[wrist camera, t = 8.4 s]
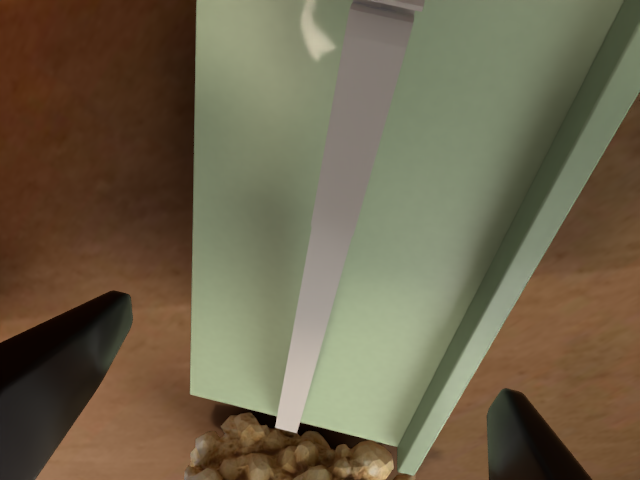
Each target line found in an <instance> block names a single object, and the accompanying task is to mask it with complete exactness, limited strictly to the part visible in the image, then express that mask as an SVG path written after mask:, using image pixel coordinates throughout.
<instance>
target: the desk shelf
mask: <svg viewBox="0 0 640 480" xmlns="http://www.w3.org/2000/svg"><path fill="white" fill-rule="evenodd" d="M352 2H353V0H196V57H195V118H194V178H193V239H192V300H191V360H190V394H191V395H195V396H198V397H202V398H206V399H210V400H214V401H218V402H222V403H226V404H230V405H234V406H238V407H242V408H246V409H250V410H254V411H258V412H262V413H266V414H270V415H273V416H277V415H278V409H279V404H280V398H281V393H282V387H283V382H284V376H285V371H286V365H287V360H288V354H289V349H290V343H291V338H292V333H293V327H294V322H295V316H296V311H297V305H298V300H299V294H300V289H301V284H302V278H303V273H304V267H305V262H306V256H307V251H308V245H309V240H310V234H311V229H312V227H311V221H312V215H313V210H314V204H315V199H316V193H317V187H318V182H319V176H320V171H321V165H322V159H323V154H324V148H325V143H326V137H327V131H328V126H329V120H330V115H331V109H332V103H333V98H334V92H335V87H336V81H337V75H338V70H339V64H340V59H341V53H342V47H343V42H344V36H345V31H346V25H347V20H348V15H349V10H350V7H351V4H352ZM639 92H640V0H425V3H424V7H423V10H422V12H420V11H415V13H414V21H413V26H412V30H411V33H410V37H409V41H408V44H407V48H406V51H405V55H404V58H403V62H402V66H401V69H400V73H399V76H398V80H397V83H396V87H395V90H394V94H393V97H392V101H391V104H390V108H389V111H388V115H387V118H386V122H385V126H384V129H383V133H382V136H381V140H380V143H379V147H378V150H377V154H376V157H375V161H374V164H373V168H372V171H371V175H370V179H369V182H368V186H367V189H366V193H365V196H364V200H363V203H362V207H361V210H360V214H359V217H358V221H357V224H356V228H355V231H354V235H353V236H352V238H351V242H350V245H349V249H348V252H347V256H346V260H345V263H344V267H343V270H342V274H341V278H340V281H339V285H338V288H337V292H336V295H335V299H334V303H333V306H332V310H331V313H330V317H329V321H328V324H327V328H326V331H325V335H324V338H323V342H322V346H321V349H320V353H319V356H318V360H317V363H316V367H315V371H314V374H313V378H312V381H311V385H310V389H309V392H308V396H307V399H306V403H305V406H304V410H303V414H302V417H301V421H300V422H301V423H305V424H309V425H313V426H317V427H321V428H325V429H329V430H333V431H337V432H341V433H345V434H349V435H352V436H356V437H360V438H364V439H368V440H372V441H376V442H380V443H384V444H388V445H392V446H396V447H398V448H397V470H398V472H400V473H404V474H408V475H412V476H414V475H415V473H416V472H417V470H418V468H419V467H420V465H421V463H422V462H423V460H424V458H425V456H426V455H427V453H428V451H429V450H430V448H431V446H432V444H433V443H434V441H435V439H436V438H437V436H438V434H439V433H440V431H441V429H442V427H443V426H444V424H445V422H446V421H447V419H448V417H449V416H450V414H451V412H452V410H453V409H454V407H455V405H456V404H457V402H458V400H459V398H460V397H461V395H462V393H463V392H464V390H465V388H466V387H467V385H468V383H469V381H470V380H471V378H472V376H473V375H474V373H475V371H476V370H477V368H478V366H479V364H480V363H481V361H482V359H483V358H484V356H485V354H486V353H487V351H488V349H489V347H490V346H491V344H492V342H493V341H494V339H495V337H496V335H497V334H498V332H499V330H500V329H501V327H502V325H503V324H504V322H505V320H506V318H507V317H508V315H509V313H510V312H511V310H512V308H513V307H514V305H515V303H516V301H517V300H518V298H519V296H520V295H521V293H522V291H523V289H524V288H525V286H526V284H527V283H528V281H529V279H530V278H531V276H532V274H533V272H534V271H535V269H536V267H537V266H538V264H539V262H540V261H541V259H542V257H543V255H544V254H545V252H546V250H547V249H548V247H549V245H550V243H551V242H552V240H553V238H554V237H555V235H556V233H557V232H558V230H559V228H560V226H561V225H562V223H563V221H564V220H565V218H566V216H567V215H568V213H569V211H570V209H571V208H572V206H573V204H574V203H575V201H576V199H577V197H578V196H579V194H580V192H581V191H582V189H583V187H584V186H585V184H586V182H587V180H588V179H589V177H590V175H591V174H592V172H593V170H594V169H595V167H596V165H597V163H598V162H599V160H600V158H601V157H602V155H603V153H604V151H605V150H606V148H607V146H608V145H609V143H610V141H611V140H612V138H613V136H614V134H615V133H616V131H617V129H618V128H619V126H620V124H621V123H622V121H623V119H624V117H625V116H626V114H627V112H628V111H629V109H630V107H631V105H632V104H633V102H634V100H635V99H636V97H637V95H638V94H639Z"/></svg>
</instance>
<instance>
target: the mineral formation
mask: <svg viewBox="0 0 640 480" xmlns="http://www.w3.org/2000/svg"><path fill="white" fill-rule="evenodd" d="M221 428H222V430H223V432H224V434H225V435H224V436H223V437H222V438H220V437H219V436H218V434H217V432H216V431H209V432H207V433H205V434H203V435H202V436H200V437H198V438H196V448H195V449H194V450H193V451H191V452H190V454H191V464H190V466H189V465H188V467H187V469H186V470H185V476H184V480H385V479H386V478H387V477H388V476H389V474H390V473H391V471H392V470H393V469H394V462H393V459H392V455H391V453H390V452H389V451H388V450H387V449H386V448H385V447H383V446H381V445H380V444H378V443H376V442H374V441H372V440H369V441H362V442H360V443H358V444H357V445H356V446H354V447H353V448H352V449H350V448H348V447H347V445H346V444H342V445H339V446H337V448H336V451H335V450H333V449H331V448H330V447H329V445H328V443H327V442H326V440H325V439H324V438H323V437H322V436H321V435H320V434H319V433H318V432H316V431H306V432H305V433H304V434H303V435H302V436H301V437H300V436H299V435H298V434H296V433H294V432H290V431H286V430H282V429H278V428H275V427H274V428H273V429H271V428H268V426H267V425H262V426H260V424H259V422H258V421H257V419H256V418H255V416H254V415H253V414H252V413H251V412H248V413H242V414H240V415H230V417H229V418H228V419H227V420H226V421H225V422H224V423H223V424H222V425H221ZM393 480H416V477H415V475H414V476H412V475H408V474H403V475H397V476H396V477H395V478H394V479H393Z"/></svg>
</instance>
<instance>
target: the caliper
mask: <svg viewBox="0 0 640 480" xmlns="http://www.w3.org/2000/svg"><path fill="white" fill-rule="evenodd" d="M424 3H425V0H353V2H352V4H351V7H350V10H349V15H348V20H347V25H346V31H345V36H344V42H343V47H342V53H341V59H340V64H339V70H338V75H337V81H336V87H335V92H334V98H333V103H332V109H331V115H330V120H329V126H328V131H327V137H326V143H325V148H324V154H323V159H322V165H321V171H320V176H319V182H318V187H317V193H316V199H315V204H314V210H313V215H312V221H311V227H312V229H311V234H310V240H309V245H308V251H307V256H306V262H305V267H304V273H303V278H302V284H301V289H300V294H299V300H298V305H297V311H296V316H295V322H294V327H293V333H292V338H291V343H290V349H289V354H288V360H287V365H286V371H285V376H284V382H283V387H282V393H281V398H280V404H279V409H278V415H277V420H276V425H275V428H278V429H282V430H286V431H290V432H294V433H297V431H298V428H299V424H300V421H301V417H302V414H303V410H304V406H305V403H306V399H307V396H308V392H309V389H310V385H311V381H312V378H313V374H314V371H315V367H316V363H317V360H318V356H319V353H320V349H321V346H322V342H323V338H324V335H325V331H326V328H327V324H328V321H329V317H330V313H331V310H332V306H333V303H334V299H335V295H336V292H337V288H338V285H339V281H340V278H341V274H342V270H343V267H344V263H345V260H346V256H347V252H348V249H349V245H350V242H351V238H352V236H353V235H354V231H355V228H356V224H357V221H358V217H359V214H360V210H361V207H362V203H363V200H364V196H365V193H366V189H367V186H368V182H369V179H370V175H371V171H372V168H373V164H374V161H375V157H376V154H377V150H378V147H379V143H380V140H381V136H382V133H383V129H384V126H385V122H386V118H387V115H388V111H389V108H390V104H391V101H392V97H393V94H394V90H395V87H396V83H397V80H398V76H399V73H400V69H401V66H402V62H403V58H404V55H405V51H406V48H407V44H408V41H409V37H410V33H411V30H412V26H413V21H414V13H415V11H420V12H422V10H423V7H424Z"/></svg>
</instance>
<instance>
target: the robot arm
mask: <svg viewBox="0 0 640 480" xmlns="http://www.w3.org/2000/svg"><path fill="white" fill-rule="evenodd" d="M132 321H133V315H132V304H131V297H130V295H129V294H126V293H122V292H118V291H110V292H107V293H105V294H103V295H101V296H99V297H97V298H95V299H93V300H90V301H88V302H86V303H84V304H82V305H80V306H78V307H76V308H73V309H71V310H69V311H67V312H65V313H63V314H61V315H59V316H56V317H54V318H52V319H50V320H48V321H46V322H44V323H42V324H39V325H37V326H35V327H33V328H31V329H29V330H27V331H25V332H22V333H20V334H18V335H16V336H14V337H12V338H10V339H8V340H6V341H3V342H1V343H0V480H35V479H36V478H37V476H38V475H39V473H40V472H41V470H42V469H43V467H44V466H45V464H46V463H47V462H48V460H49V459H50V457H51V456H52V454H53V453H54V451H55V450H56V448H57V447H58V445H59V444H60V443H61V441H62V440H63V438H64V437H65V435H66V434H67V432H68V431H69V429H70V428H71V426H72V425H73V424H74V422H75V421H76V419H77V418H78V416H79V415H80V413H81V412H82V410H83V409H84V407H85V406H86V405H87V403H88V402H89V400H90V399H91V397H92V396H93V394H94V393H95V391H96V390H97V388H98V387H99V385H100V383H101V382H102V380H103V378H104V376H105V375H106V373H107V371H108V369H109V367H110V365H111V364H112V362H113V360H114V358H115V356H116V354H117V352H118V350H119V349H120V347H121V345H122V343H123V341H124V339H125V337H126V336H127V334H128V332H129V330H130V328H131V325H132ZM487 438H488V466H489V480H592V479H591V478H590V476H589V475H588V474H587V473H586V471H585V470H584V469H583V468H582V466H581V465H580V464H579V463H578V461H577V460H576V459H575V458H574V456H573V455H572V454H571V453H570V451H569V450H568V449H567V448H566V446H565V445H564V444H563V443H562V441H561V440H560V439H559V438H558V436H557V435H556V434H555V433H554V431H553V430H552V429H551V428H550V426H549V425H548V424H547V423H546V421H545V420H544V419H543V418H542V416H541V415H540V414H539V413H538V411H537V410H536V409H535V408H534V406H533V405H532V404H531V403H530V401H529V400H528V399H527V398H526V396H525V395H524V394H523V393H521V392H519V391H515V390H511V389H507V388H505V389H502V390H501V391H500V393H499V394H498V396H497V397H496V399H495V400H494V402H493V403H492V405H491V406H490V408H489V410H488V413H487Z"/></svg>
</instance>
